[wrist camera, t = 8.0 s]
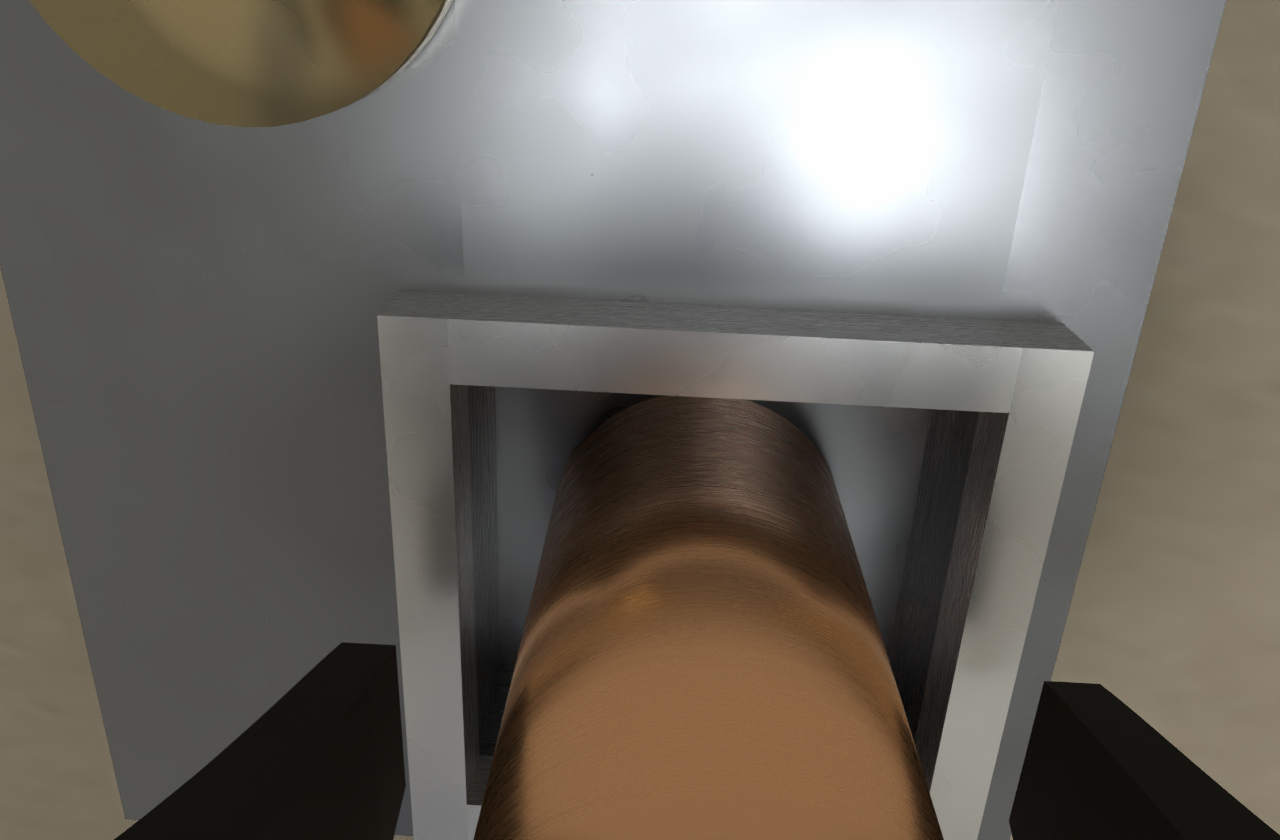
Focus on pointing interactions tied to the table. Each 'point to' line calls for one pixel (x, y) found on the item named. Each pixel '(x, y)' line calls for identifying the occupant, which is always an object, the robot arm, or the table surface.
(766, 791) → the copper cylinder
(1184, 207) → the table surface
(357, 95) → the grey peg holder base
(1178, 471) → the table surface
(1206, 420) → the table surface
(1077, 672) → the table surface
